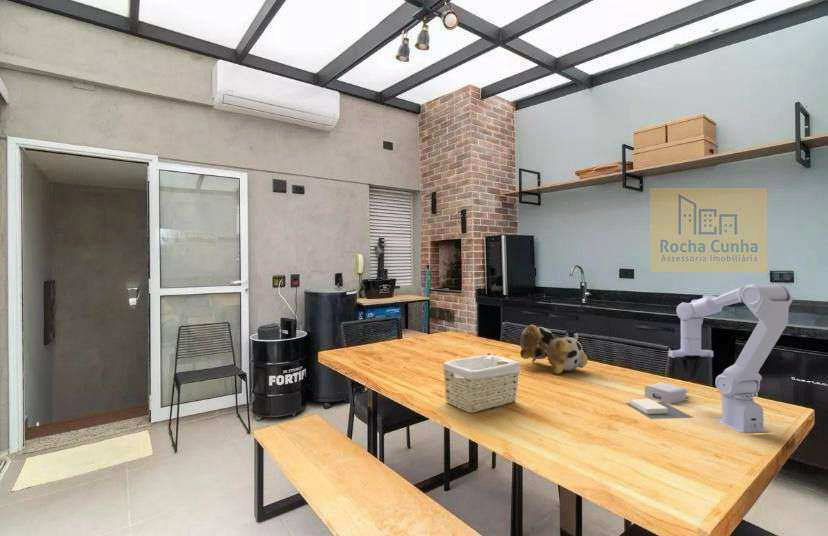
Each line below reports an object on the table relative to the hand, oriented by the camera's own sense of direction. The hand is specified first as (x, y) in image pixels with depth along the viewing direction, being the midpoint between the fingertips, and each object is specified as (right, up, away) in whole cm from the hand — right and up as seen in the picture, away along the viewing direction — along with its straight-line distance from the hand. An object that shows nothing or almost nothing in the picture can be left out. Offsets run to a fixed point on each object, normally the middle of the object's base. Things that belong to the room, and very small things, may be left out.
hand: (690, 377), depth 136 cm
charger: (-1, -10, +9) cm, 14 cm away
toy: (-30, -10, +51) cm, 60 cm away
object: (-70, -11, +6) cm, 71 cm away
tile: (-13, -9, -3) cm, 16 cm away
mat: (-14, -10, -4) cm, 17 cm away
